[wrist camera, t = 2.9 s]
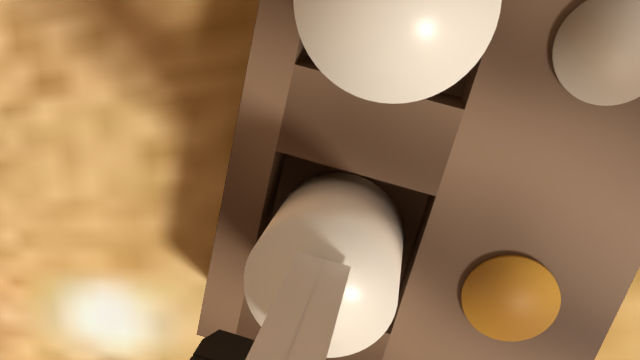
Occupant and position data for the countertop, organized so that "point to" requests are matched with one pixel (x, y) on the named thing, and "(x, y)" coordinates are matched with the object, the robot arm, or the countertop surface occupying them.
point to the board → (461, 182)
